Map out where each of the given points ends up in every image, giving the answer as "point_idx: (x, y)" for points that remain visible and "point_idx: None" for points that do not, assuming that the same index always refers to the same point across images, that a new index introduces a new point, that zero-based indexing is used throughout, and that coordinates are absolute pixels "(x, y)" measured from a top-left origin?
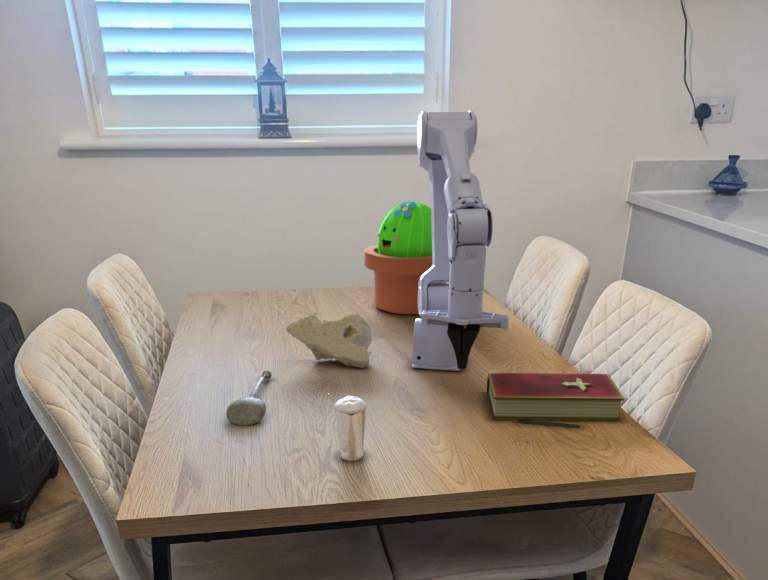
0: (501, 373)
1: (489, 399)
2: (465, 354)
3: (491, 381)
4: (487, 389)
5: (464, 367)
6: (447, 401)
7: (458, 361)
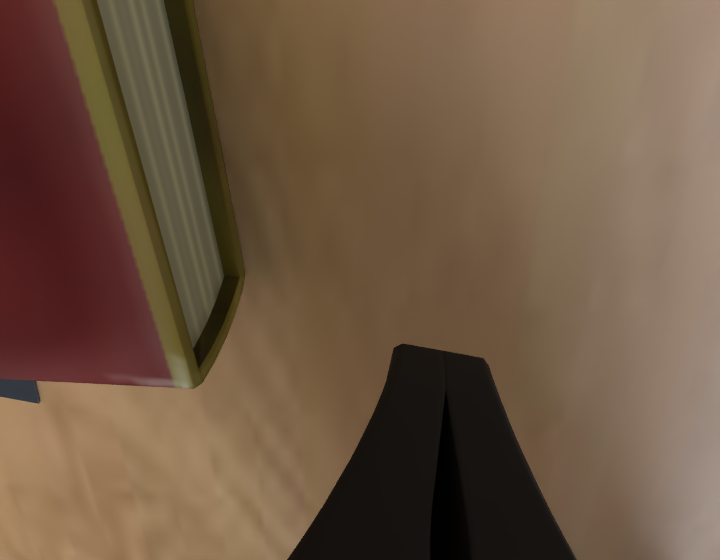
0: (78, 372)
1: (202, 141)
2: (389, 483)
3: (122, 196)
4: (229, 290)
5: (406, 354)
6: (559, 133)
7: (489, 416)
